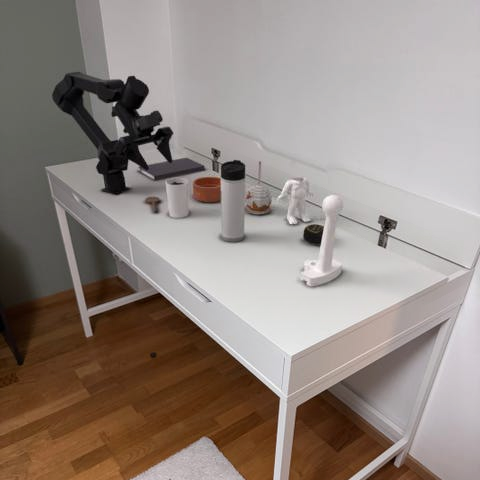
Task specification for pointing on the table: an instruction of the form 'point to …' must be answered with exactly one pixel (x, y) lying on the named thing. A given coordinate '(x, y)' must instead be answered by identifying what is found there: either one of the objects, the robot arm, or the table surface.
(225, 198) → the travel mug
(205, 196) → the terracotta bowl
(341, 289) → the table surface
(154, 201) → the walnut spoon
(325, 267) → the joystick
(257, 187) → the decorative ornament
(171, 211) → the white paper coffee cup
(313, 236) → the tape measure
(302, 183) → the toy creature
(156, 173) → the notebook
